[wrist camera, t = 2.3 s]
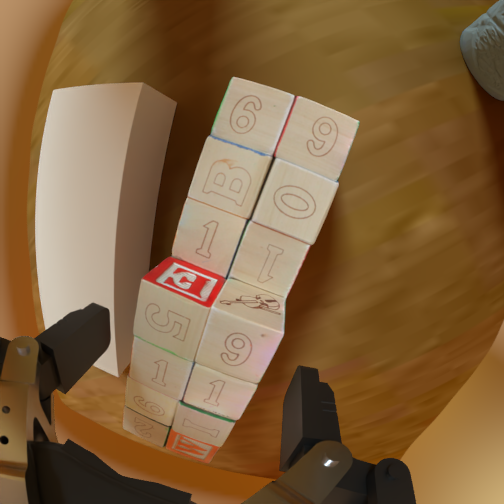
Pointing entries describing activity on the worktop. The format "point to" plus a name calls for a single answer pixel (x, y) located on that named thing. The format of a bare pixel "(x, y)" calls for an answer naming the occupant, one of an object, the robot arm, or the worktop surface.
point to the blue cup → (486, 50)
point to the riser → (99, 203)
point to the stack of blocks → (232, 266)
